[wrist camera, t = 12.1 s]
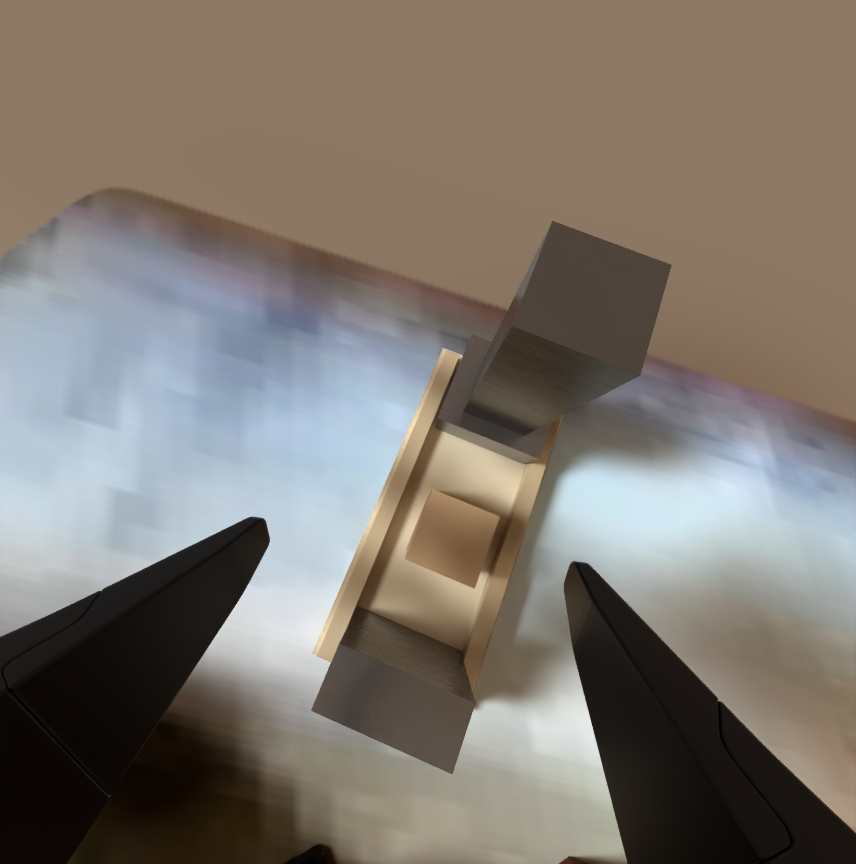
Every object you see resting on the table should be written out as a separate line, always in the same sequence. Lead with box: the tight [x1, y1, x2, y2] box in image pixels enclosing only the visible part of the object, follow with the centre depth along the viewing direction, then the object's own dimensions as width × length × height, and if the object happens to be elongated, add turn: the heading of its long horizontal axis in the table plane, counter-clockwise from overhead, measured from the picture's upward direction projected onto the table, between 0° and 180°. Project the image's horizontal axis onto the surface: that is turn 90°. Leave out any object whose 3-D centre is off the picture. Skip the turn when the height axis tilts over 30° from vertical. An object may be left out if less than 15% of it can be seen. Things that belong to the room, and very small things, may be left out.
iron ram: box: [435, 221, 671, 464], centre depth 16 cm, size 6×7×13 cm
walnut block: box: [405, 489, 499, 589], centre depth 19 cm, size 4×4×4 cm
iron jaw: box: [311, 606, 475, 774], centre depth 17 cm, size 3×7×5 cm, turn 68°
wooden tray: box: [312, 348, 563, 692], centre depth 21 cm, size 22×10×2 cm, turn 158°
